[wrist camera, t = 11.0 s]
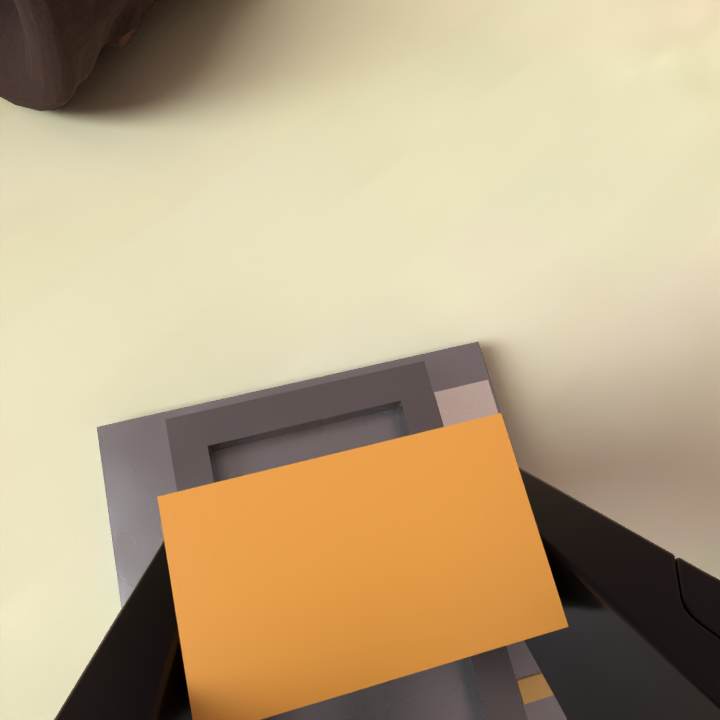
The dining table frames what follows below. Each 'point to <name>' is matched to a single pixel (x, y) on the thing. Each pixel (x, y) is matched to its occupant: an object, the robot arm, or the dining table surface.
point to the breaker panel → (304, 442)
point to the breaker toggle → (354, 570)
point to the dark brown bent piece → (58, 45)
